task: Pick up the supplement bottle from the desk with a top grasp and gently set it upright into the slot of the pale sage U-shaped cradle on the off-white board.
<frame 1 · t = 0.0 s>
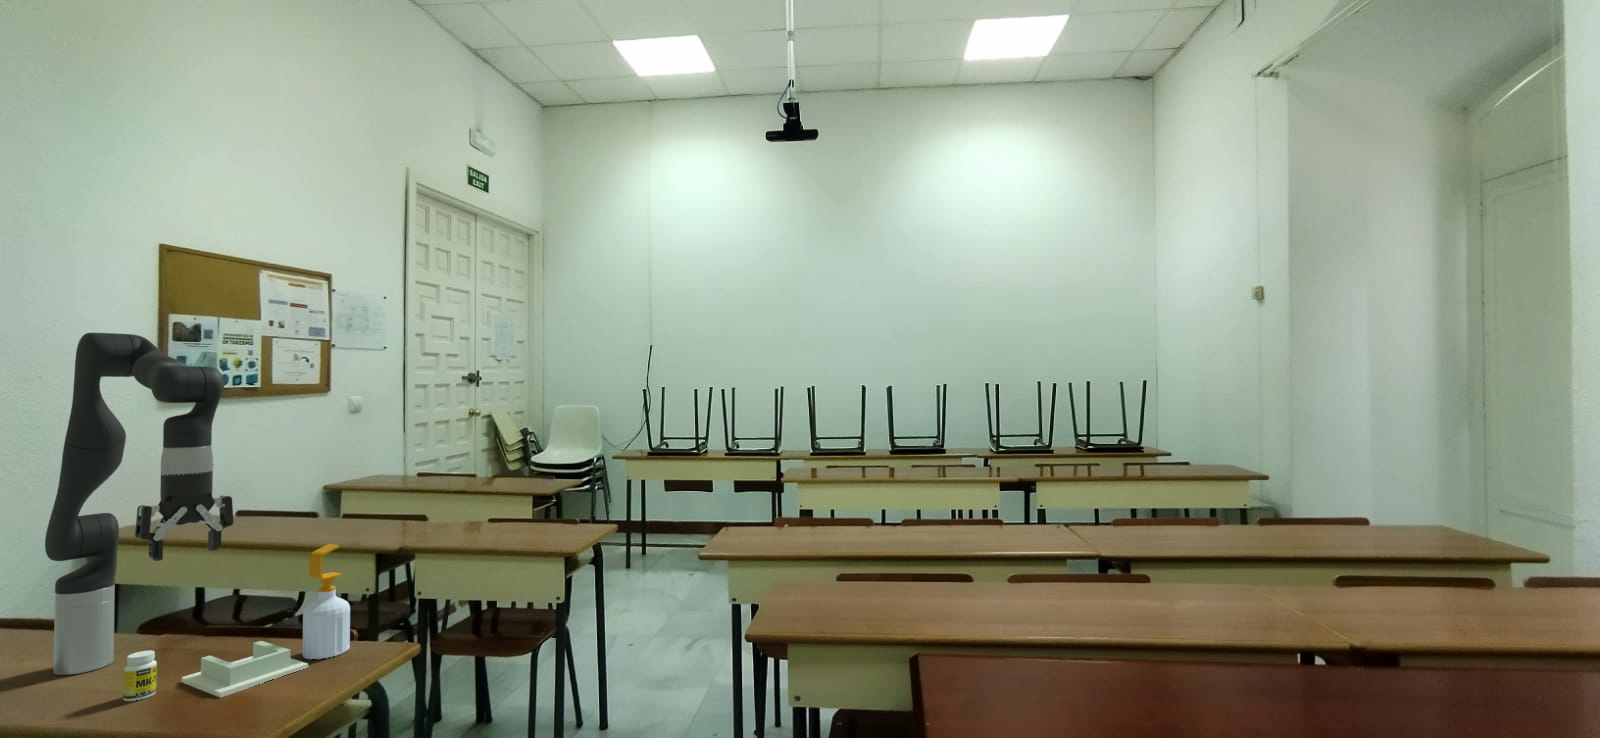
hand: (185, 555, 133), 29 cm above the table, tool pointing down, fingers open, 8 cm apart
supplement bottle: (139, 697, 139), on the table
soap bottle: (326, 653, 161), on the table
u rest: (246, 675, 149), on the table
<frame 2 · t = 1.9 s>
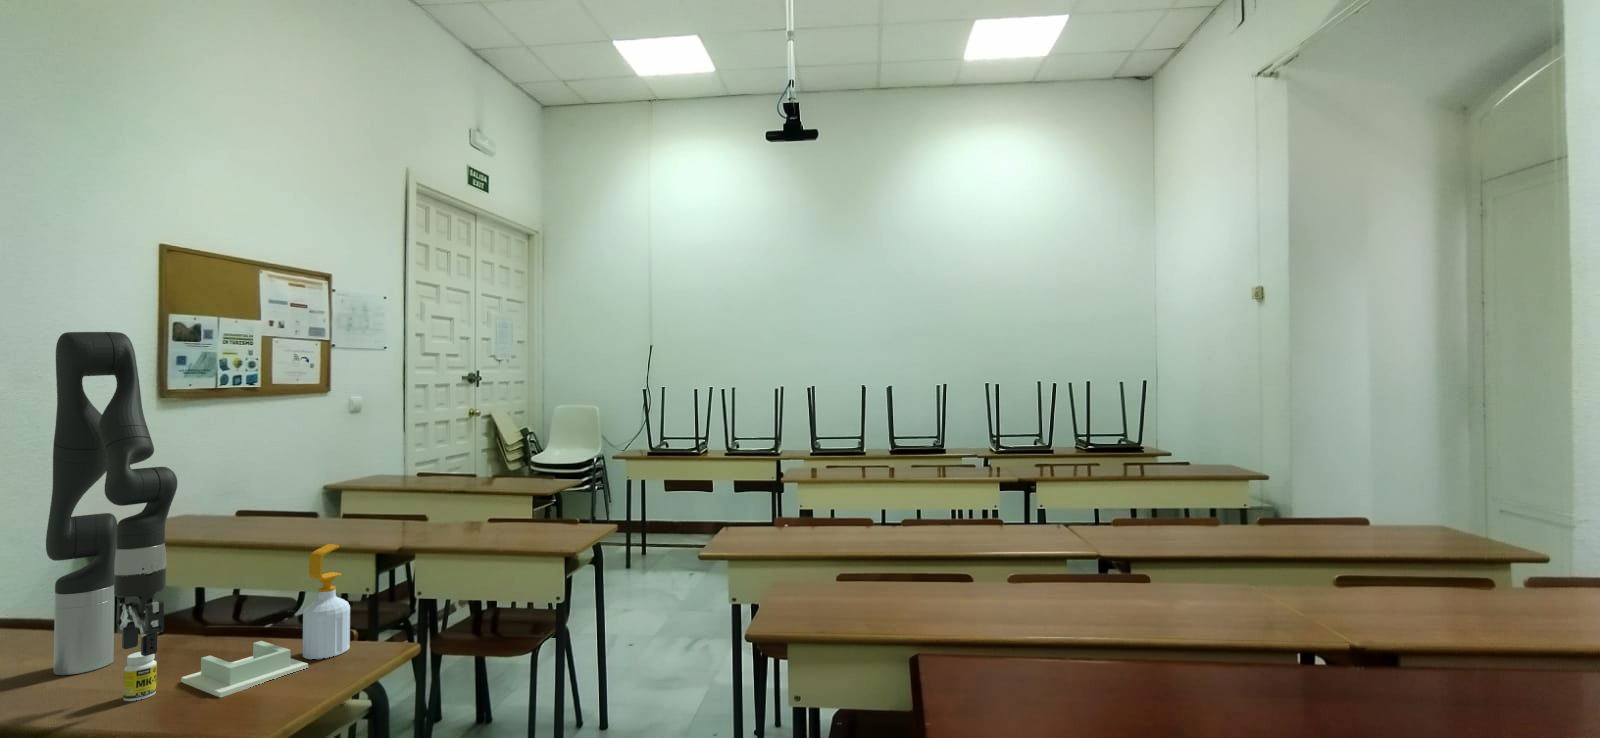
hand: (139, 651, 138), 9 cm above the table, tool pointing down, fingers open, 8 cm apart
nothing on the table moved.
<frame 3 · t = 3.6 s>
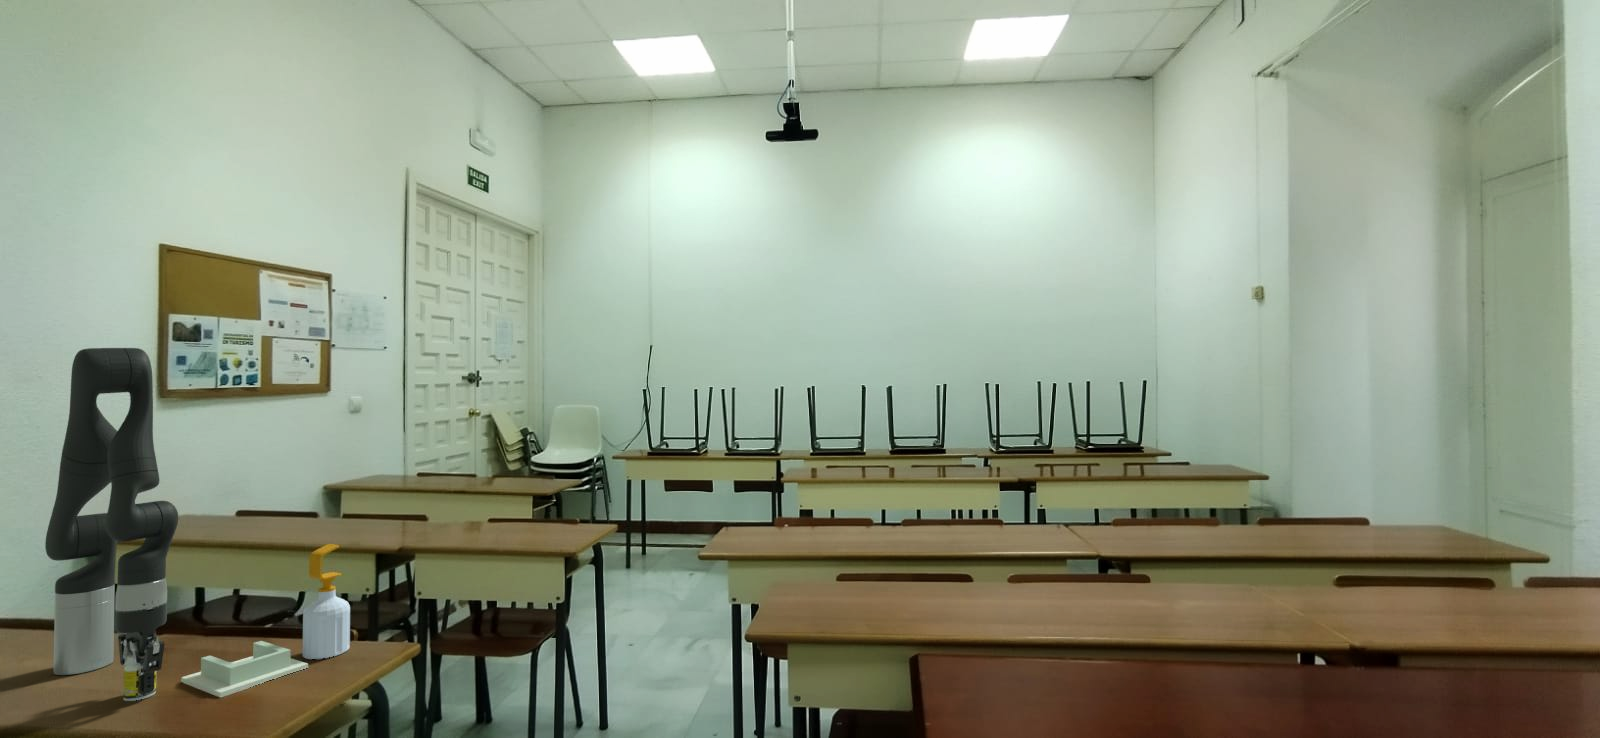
hand: (140, 689, 139), 1 cm above the table, tool pointing down, fingers closed on supplement bottle, 4 cm apart
supplement bottle: (139, 697, 139), on the table, touching gripper
everything else where it was.
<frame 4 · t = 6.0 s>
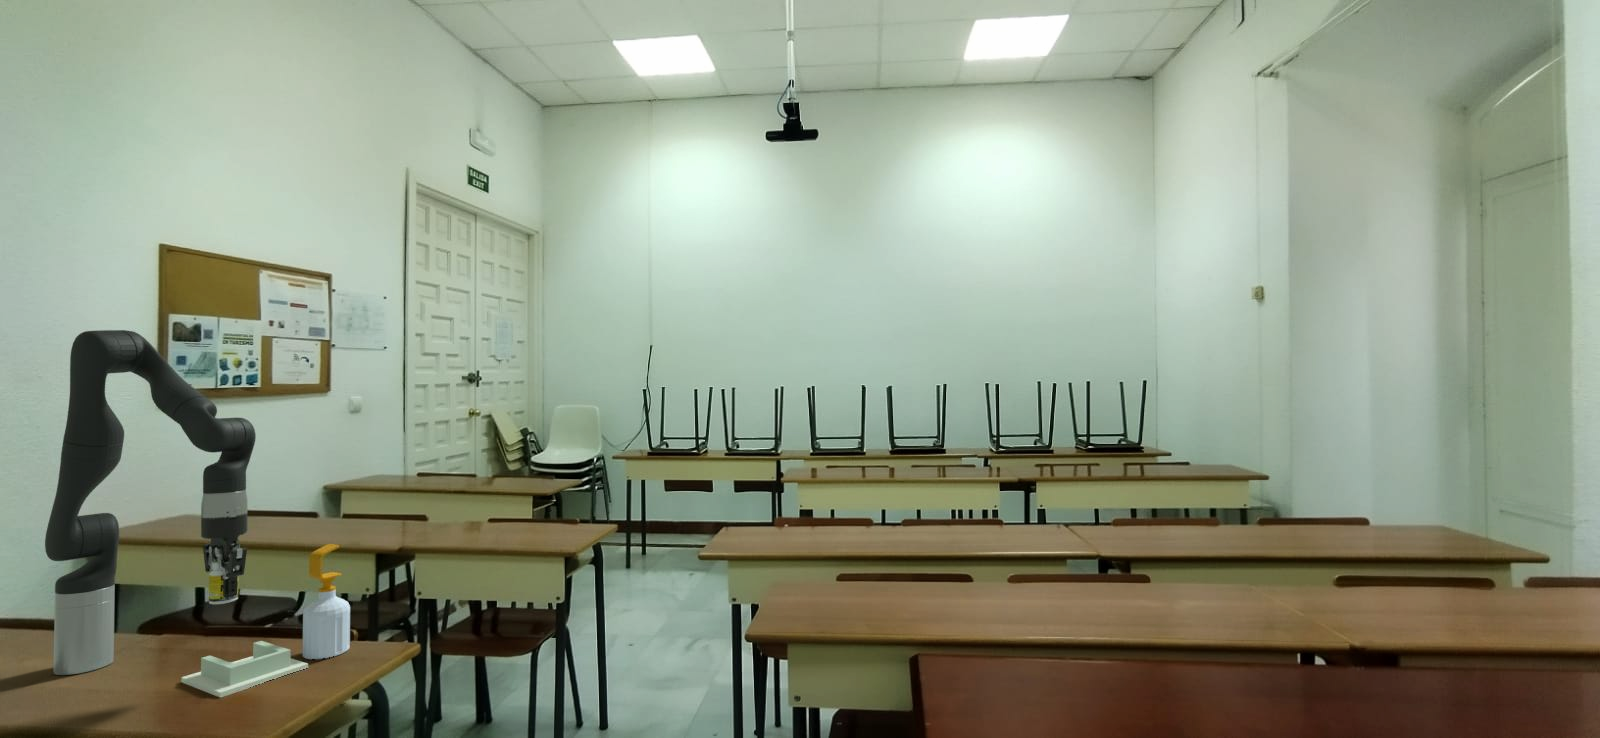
hand: (224, 594, 146), 18 cm above the table, tool pointing down, fingers closed on supplement bottle, 4 cm apart
supplement bottle: (223, 602, 146), point 16 cm above the table, touching gripper
everything else where it was.
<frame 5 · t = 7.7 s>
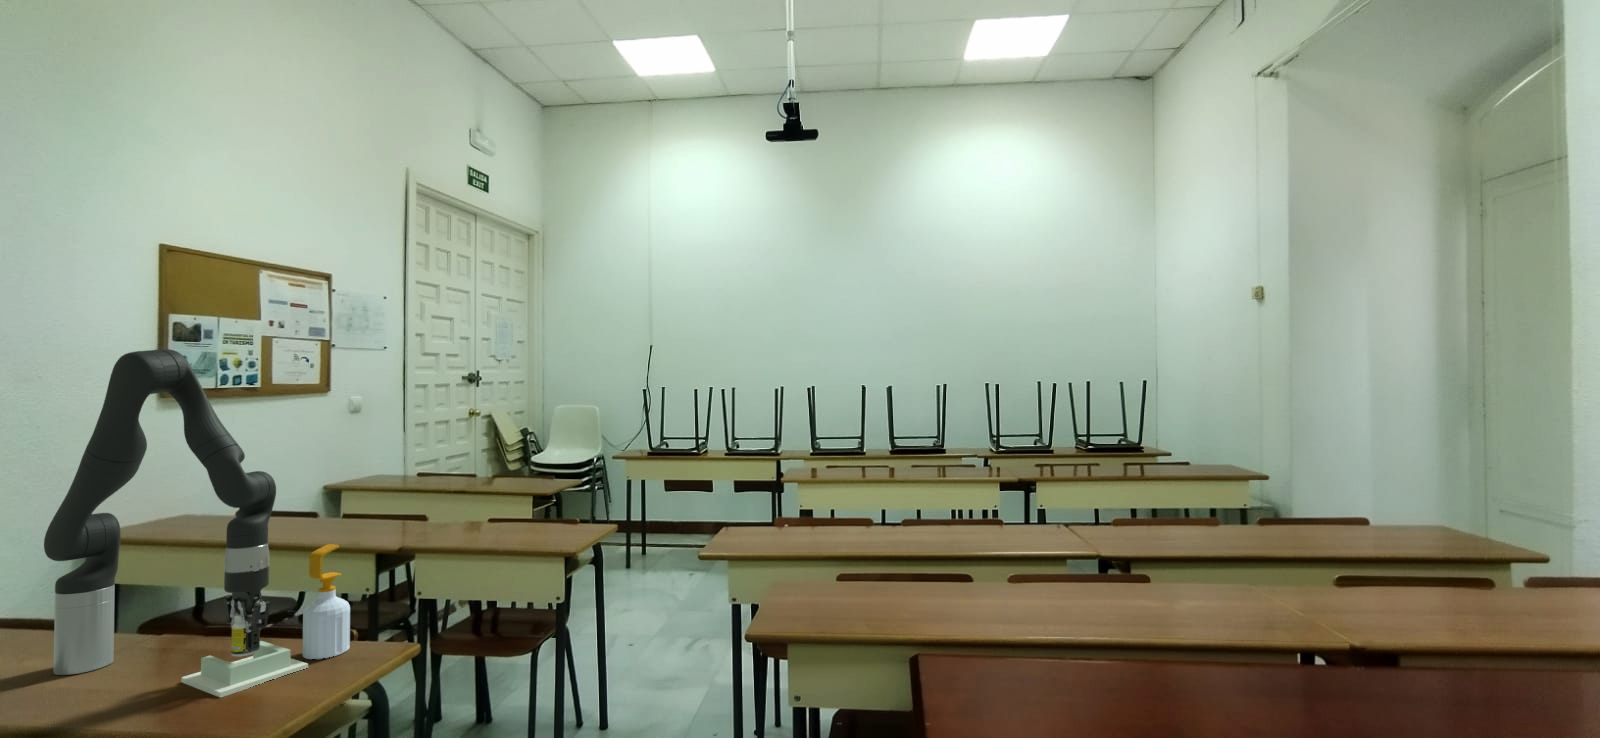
hand: (246, 646, 149), 6 cm above the table, tool pointing down, fingers closed on supplement bottle, 4 cm apart
supplement bottle: (245, 654, 149), point 5 cm above the table, touching gripper
everything else where it was.
when the fingers open (5 cm above the table, at t = 8.7 s): supplement bottle drops 2 cm, resting on u rest.
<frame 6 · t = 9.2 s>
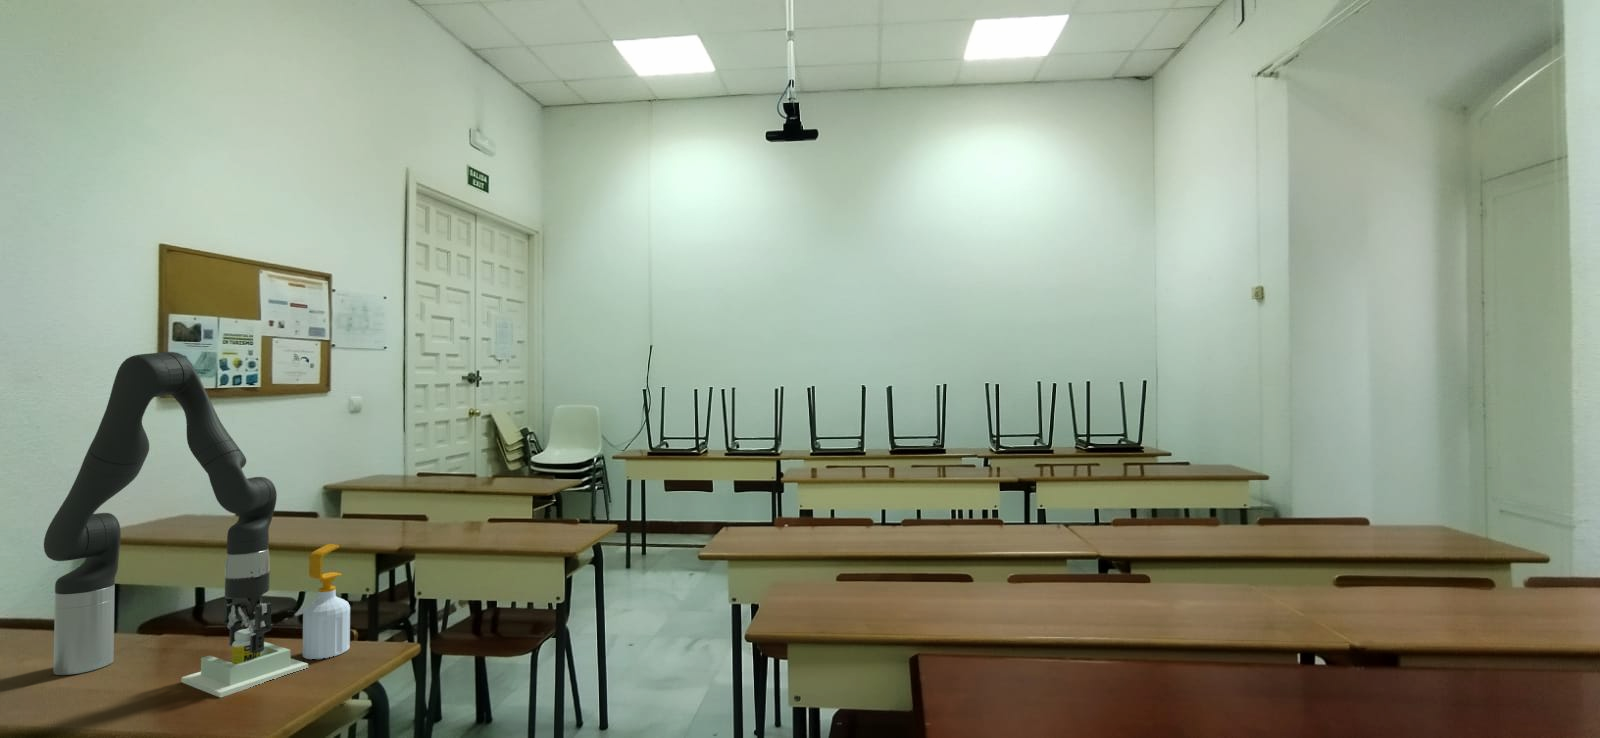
hand: (246, 648, 149), 6 cm above the table, tool pointing down, fingers open, 8 cm apart
supplement bottle: (245, 671, 149), point 1 cm above the table, touching u rest
everything else where it was.
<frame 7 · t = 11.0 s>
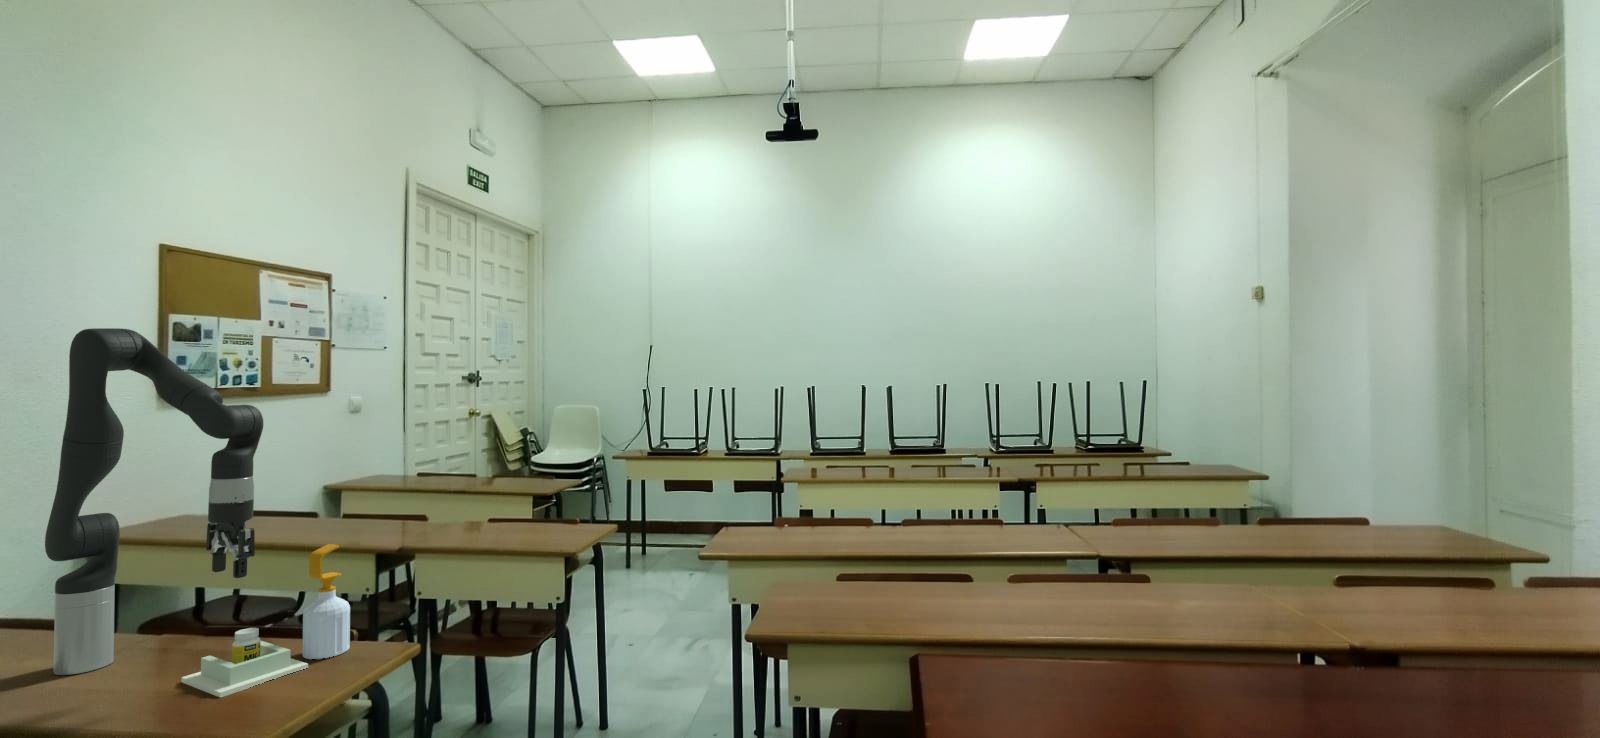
hand: (229, 574, 149), 21 cm above the table, tool pointing down, fingers open, 8 cm apart
nothing on the table moved.
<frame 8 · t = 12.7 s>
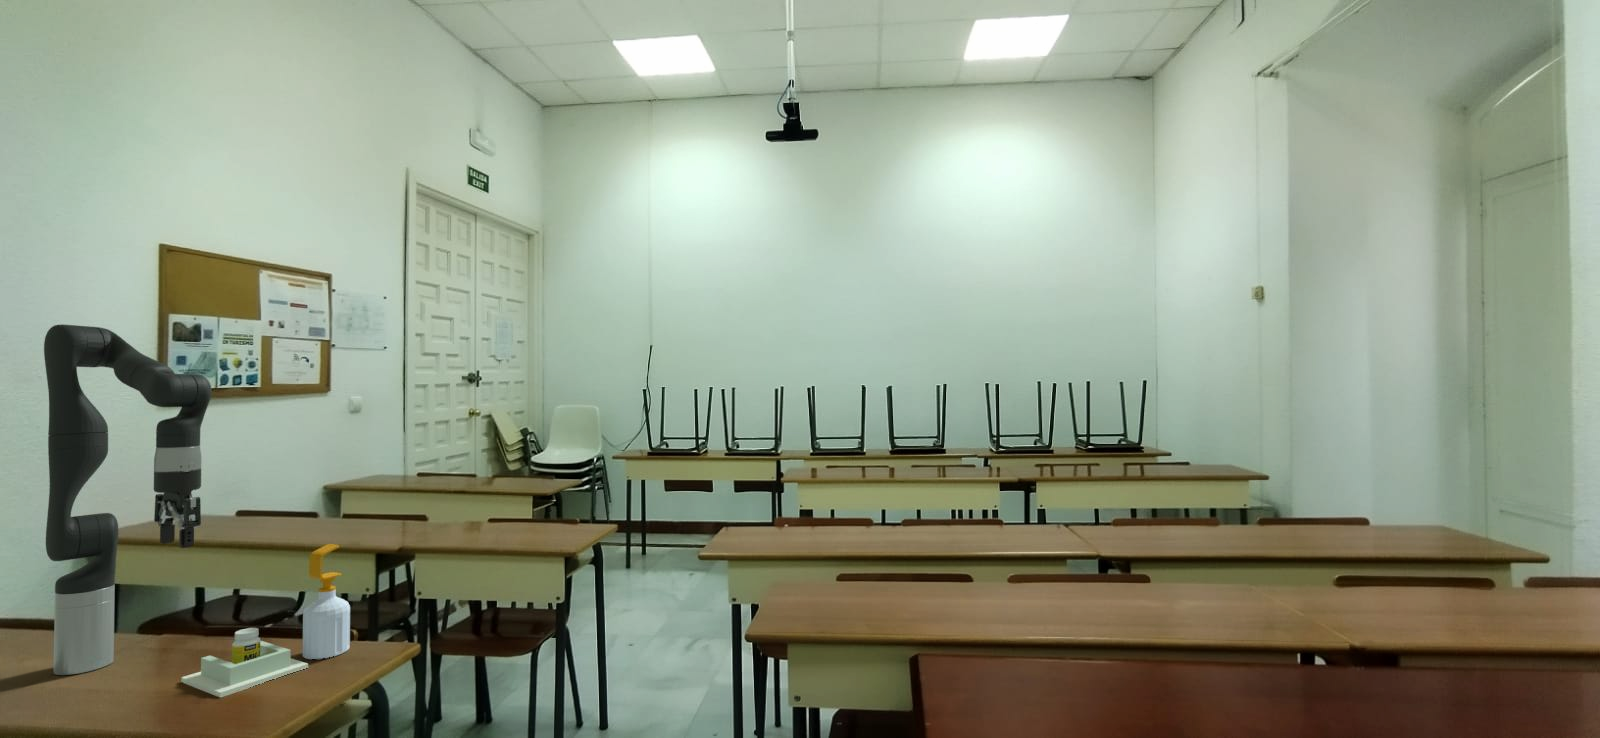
hand: (176, 545, 147), 28 cm above the table, tool pointing down, fingers open, 8 cm apart
nothing on the table moved.
at the end: supplement bottle 0.6 cm off-centre on the u rest, point 0.8 cm above the u rest's base; supplement bottle tilted 0°; the gripper is holding nothing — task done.
